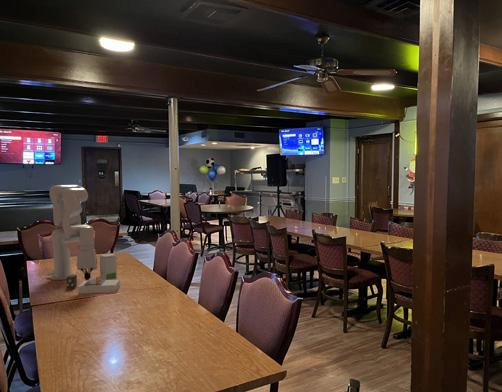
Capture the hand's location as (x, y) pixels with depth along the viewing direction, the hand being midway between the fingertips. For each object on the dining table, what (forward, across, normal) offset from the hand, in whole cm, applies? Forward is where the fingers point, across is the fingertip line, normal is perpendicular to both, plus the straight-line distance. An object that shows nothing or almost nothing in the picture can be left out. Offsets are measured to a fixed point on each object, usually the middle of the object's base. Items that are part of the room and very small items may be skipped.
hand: (87, 279), depth 220 cm
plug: (+6, -10, +7) cm, 14 cm away
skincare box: (+6, +6, +23) cm, 25 cm away
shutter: (+2, +4, 0) cm, 4 cm away
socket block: (+6, +6, 0) cm, 9 cm away
